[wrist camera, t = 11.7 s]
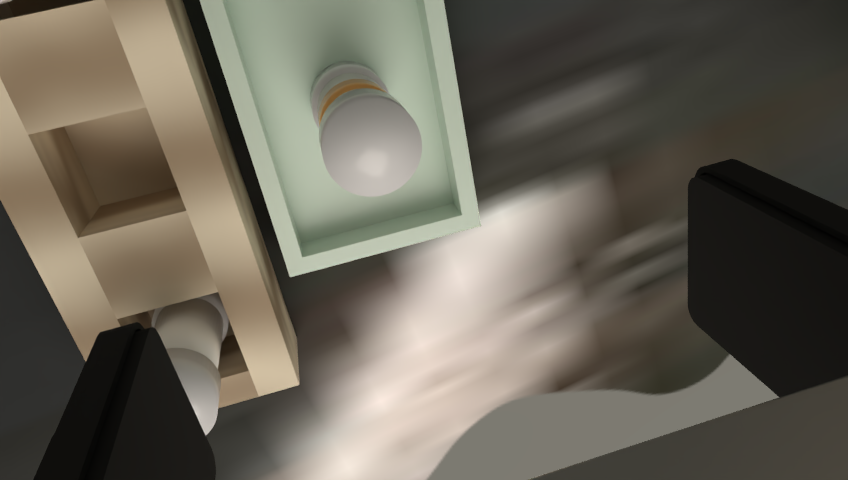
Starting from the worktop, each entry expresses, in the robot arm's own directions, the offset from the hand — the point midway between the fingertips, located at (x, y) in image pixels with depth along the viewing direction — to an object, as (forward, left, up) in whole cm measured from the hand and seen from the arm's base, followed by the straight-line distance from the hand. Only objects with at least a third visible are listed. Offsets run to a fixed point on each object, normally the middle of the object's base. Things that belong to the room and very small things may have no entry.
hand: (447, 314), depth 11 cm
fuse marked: (0, 0, -19) cm, 19 cm away
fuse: (+8, -9, -19) cm, 23 cm away
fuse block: (0, -9, -20) cm, 22 cm away
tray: (0, 0, -20) cm, 20 cm away
